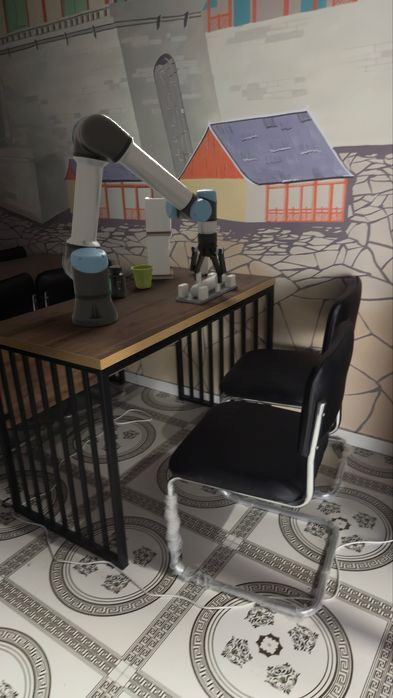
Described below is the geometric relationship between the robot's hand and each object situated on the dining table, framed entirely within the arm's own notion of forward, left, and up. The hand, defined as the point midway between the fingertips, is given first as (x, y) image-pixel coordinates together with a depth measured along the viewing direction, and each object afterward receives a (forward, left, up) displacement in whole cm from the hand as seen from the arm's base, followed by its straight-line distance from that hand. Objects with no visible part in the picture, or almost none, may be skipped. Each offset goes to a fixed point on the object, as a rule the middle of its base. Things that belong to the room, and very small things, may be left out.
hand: (208, 290), depth 197 cm
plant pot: (-30, -3, -2) cm, 30 cm away
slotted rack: (0, 0, -1) cm, 1 cm away
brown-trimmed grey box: (-36, +18, -2) cm, 40 cm away
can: (-22, +30, -2) cm, 37 cm away
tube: (0, 0, -1) cm, 1 cm away
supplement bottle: (-30, -20, -2) cm, 36 cm away
